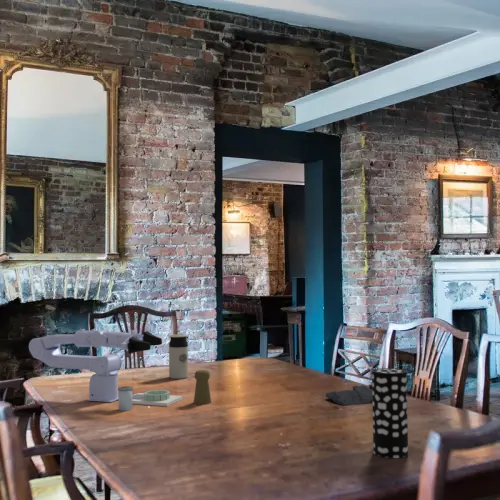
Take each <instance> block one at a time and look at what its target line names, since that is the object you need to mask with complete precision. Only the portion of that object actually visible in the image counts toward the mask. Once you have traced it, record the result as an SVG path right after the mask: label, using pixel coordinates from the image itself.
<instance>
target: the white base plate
mask: <svg viewBox="0 0 500 500" xmlns="http://www.w3.org/2000/svg"><path fill="white" fill-rule="evenodd" d="M170 393H171V392H170V391H169V390H164V389H155V390H154V389H152V390H148V391H147V390H146V391H145V392H142V393H139V392H138V393H135V394H132V405H144V406H145V405H147V406H160V407H169V406H170V405H172V404H175V403H177V402H179V401H181V400H183V399H184V398H183V396H182V395H171V394H170Z"/></svg>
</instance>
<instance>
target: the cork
mask: <svg viewBox="0 0 500 500" xmlns="http://www.w3.org/2000/svg"><path fill="white" fill-rule="evenodd" d="M210 378H211V373H210V371H209V370H207V369H199V370H196V371H195V372H194V379H195V388H194V389H195V390H194V396H193V404H195V405H209V404H211V403H212V399H211V391H210V383H209V379H210Z"/></svg>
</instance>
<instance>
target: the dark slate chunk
mask: <svg viewBox="0 0 500 500" xmlns="http://www.w3.org/2000/svg"><path fill="white" fill-rule="evenodd" d="M325 397H326V398H327V399H329V400H331V401H333V403H336V404H337V405H338V406H343V407H348V406H354V405H355V406H357V405H358V406H359V405H369V404H370V405H371V404H373V399H372V384H369V385H368V386H367V385H364V384H362V385H353V386H352V390H351V389H350V390H348V389H346V390H345V389H344V390H341V391H340V390H339V391H335V390H334V391H330V392H325Z"/></svg>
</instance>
